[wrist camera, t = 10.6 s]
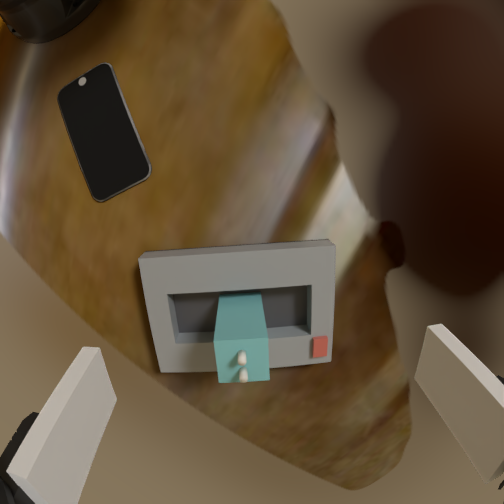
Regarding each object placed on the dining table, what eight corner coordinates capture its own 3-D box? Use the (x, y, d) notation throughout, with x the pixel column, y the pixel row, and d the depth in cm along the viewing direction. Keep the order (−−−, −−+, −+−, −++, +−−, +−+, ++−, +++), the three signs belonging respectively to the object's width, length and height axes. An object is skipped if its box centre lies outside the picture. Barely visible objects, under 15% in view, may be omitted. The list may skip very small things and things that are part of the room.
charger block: (219, 294, 36) (212, 349, 25) (260, 292, 36) (269, 346, 25) (223, 330, 37) (218, 392, 26) (262, 327, 37) (271, 389, 26)
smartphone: (108, 57, 28) (154, 174, 32) (111, 59, 29) (156, 174, 33) (54, 92, 29) (95, 205, 32) (57, 93, 29) (98, 204, 33)
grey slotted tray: (145, 251, 34) (136, 260, 31) (328, 239, 35) (337, 246, 32) (165, 359, 38) (159, 375, 35) (325, 349, 38) (332, 364, 35)
